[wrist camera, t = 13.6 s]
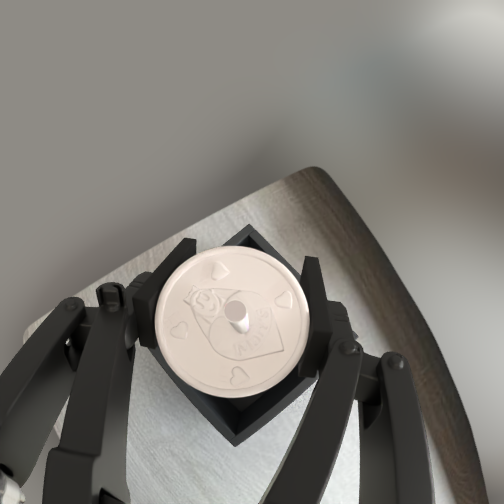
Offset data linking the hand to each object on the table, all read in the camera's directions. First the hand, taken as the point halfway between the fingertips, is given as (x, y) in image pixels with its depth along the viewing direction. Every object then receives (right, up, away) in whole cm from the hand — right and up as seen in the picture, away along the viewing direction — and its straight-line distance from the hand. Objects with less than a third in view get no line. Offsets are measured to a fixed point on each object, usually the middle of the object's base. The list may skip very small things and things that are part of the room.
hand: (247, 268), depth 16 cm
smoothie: (-1, -5, +4) cm, 6 cm away
